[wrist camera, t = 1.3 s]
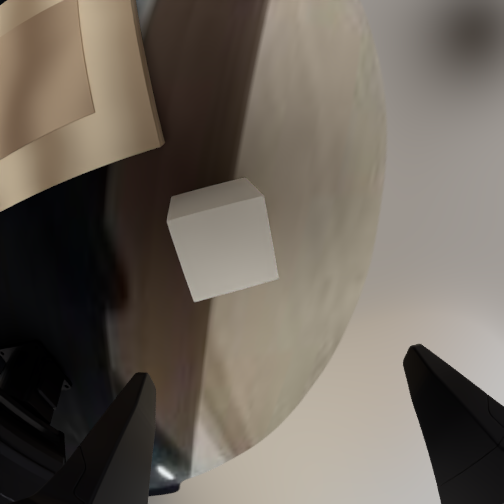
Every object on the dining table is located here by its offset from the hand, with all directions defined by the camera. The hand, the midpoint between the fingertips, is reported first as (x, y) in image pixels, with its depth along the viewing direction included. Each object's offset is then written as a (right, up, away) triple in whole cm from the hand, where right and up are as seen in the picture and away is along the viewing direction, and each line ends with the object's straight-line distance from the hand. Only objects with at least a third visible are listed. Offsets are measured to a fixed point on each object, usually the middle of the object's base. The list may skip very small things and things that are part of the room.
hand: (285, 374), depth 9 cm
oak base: (-14, +15, +4) cm, 21 cm away
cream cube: (-3, +6, +11) cm, 13 cm away
